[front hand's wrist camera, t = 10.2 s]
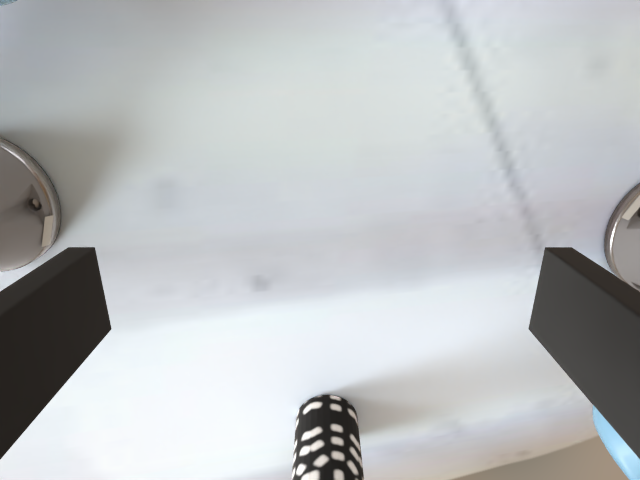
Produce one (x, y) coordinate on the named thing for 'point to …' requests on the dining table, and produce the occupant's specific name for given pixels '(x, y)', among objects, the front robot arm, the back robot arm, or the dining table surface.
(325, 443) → the black white spotted cylinder
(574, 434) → the dining table surface
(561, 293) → the front robot arm
